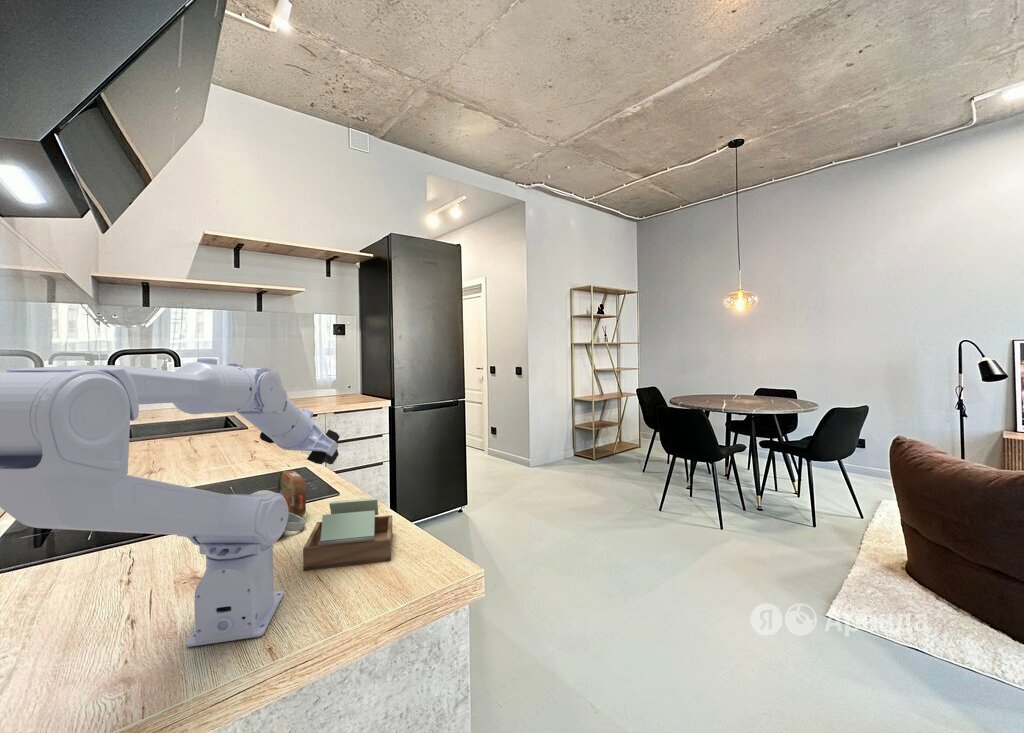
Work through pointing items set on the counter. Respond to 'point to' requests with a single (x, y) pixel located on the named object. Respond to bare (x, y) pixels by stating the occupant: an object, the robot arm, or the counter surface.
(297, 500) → the tin
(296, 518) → the ceramic mug
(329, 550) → the crate
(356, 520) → the flap near
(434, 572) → the counter surface
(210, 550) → the robot arm
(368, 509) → the flap far
